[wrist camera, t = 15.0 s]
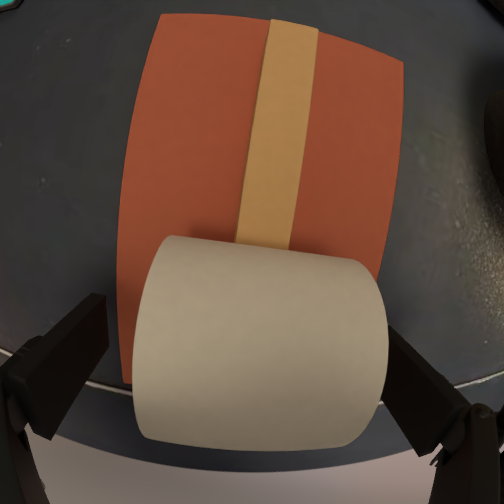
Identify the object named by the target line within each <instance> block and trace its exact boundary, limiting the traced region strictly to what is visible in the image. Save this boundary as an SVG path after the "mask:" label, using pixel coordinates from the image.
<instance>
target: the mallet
mask: <svg viewBox="0 0 504 504" xmlns="http://www.w3.org/2000/svg"><path fill="white" fill-rule="evenodd" d="M318 32H319V30H318V29H316V28H312V27H308V26H304V25H300V24H295V23H291V22H286V21H281V20H275V19H271V20H270V24H269V28H268V32H267V36H266V40H265V46H264V51H263V57H262V62H261V68H260V74H259V80H258V86H257V92H256V98H255V104H254V110H253V116H252V122H251V128H250V134H249V141H248V147H247V153H246V160H245V166H244V173H243V180H242V186H241V193H240V200H239V207H238V214H237V221H236V228H235V235H234V242H233V243H229V242H222V241H214V240H206V239H199V238H191V237H183V236H175V235H170V236H168V237H167V238H166V239H165V240H164V241H163V242H162V244H161V245H160V247H159V249H158V251H157V253H156V255H155V257H154V259H153V262H152V265H151V267H150V270H149V273H148V276H147V279H146V282H145V286H144V290H143V293H142V297H141V301H140V306H139V311H138V317H137V322H136V329H135V337H134V346H133V359H132V392H133V402H134V410H135V415H136V420H137V423H138V426H139V429H140V431H141V433H142V434H143V435H144V437H146V438H148V439H153V440H158V441H164V442H169V443H175V444H182V445H189V446H196V447H205V448H214V449H226V450H243V451H296V450H313V449H325V448H334V447H341V446H345V445H347V444H349V443H351V442H352V441H353V440H355V439H356V438H357V437H358V436H359V435H360V434H361V433H362V432H363V431H364V429H365V428H366V427H367V425H368V423H369V422H370V420H371V419H372V417H373V415H374V412H375V410H376V408H377V406H378V403H379V400H380V397H381V394H382V391H383V387H384V382H385V378H386V372H387V364H388V346H389V340H388V325H387V318H386V312H385V307H384V304H383V300H382V296H381V294H380V291H379V288H378V286H377V284H376V282H375V280H374V278H373V276H372V275H371V273H370V272H369V271H368V269H367V268H366V267H365V266H364V265H362V264H361V263H360V262H358V261H356V260H354V259H348V258H341V257H334V256H326V255H319V254H312V253H304V252H297V251H290V250H288V249H289V243H290V238H291V232H292V226H293V220H294V214H295V208H296V202H297V196H298V189H299V183H300V176H301V170H302V163H303V156H304V149H305V142H306V135H307V128H308V120H309V113H310V105H311V97H312V88H313V80H314V71H315V62H316V52H317V42H318Z"/></svg>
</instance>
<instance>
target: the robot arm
mask: <svg viewBox="0 0 504 504" xmlns="http://www.w3.org/2000/svg"><path fill="white" fill-rule="evenodd" d="M388 340H389V346H388V364H387V372H386V378H385V382H384V387H383V391H382V394H381V397H380V398H381V399H382V401H383V402H384V404H385V405H386V407H387V408H388V410H389V412H390V413H391V415H392V416H393V418H394V419H395V421H396V422H397V424H398V425H399V427H400V428H401V430H402V432H403V433H404V435H405V436H406V438H407V439H408V441H409V442H410V444H411V446H412V447H413V449H414V450H415V452H416V453H417V455H418V456H419V457H421V456H424V455H427V454H429V453H432V452H433V451H434V450H435V448H436V447H437V446H438V444H439V443H441V444H442V446H443V448H442V449H441V450H440V452H439V453H438V454H437V455H436V456H435V458H434V459H433V460H432V461H431V463H430V465H432V464H433V463H434V462H435V461H436V460H438V462H437V464H436V465H435V467H437V468H436V473H435V478H434V483H433V487H432V491H431V496H430V499H429V503H428V504H504V451H503V452H502V453H500V452H499V449H500V448H501V446H502V445H503V444H504V405H503V407H502V408H501V410H500V412H493V410H492V409H491V408H489V407H488V406H487V405H484V404H481V403H476V404H473V405H471V404H470V403H469V402H468V401H467V399H466V398H465V397H464V396H463V395H462V394H461V393H460V392H459V391H458V390H457V389H456V388H454V386H453V385H452V384H451V383H449V381H448V380H447V379H446V378H445V377H444V376H443V375H441V374H440V373H438V372H437V371H436V370H435V369H434V368H433V367H432V366H431V365H430V364H429V363H428V362H427V361H426V360H425V359H424V358H423V357H422V356H421V355H420V354H419V353H418V352H417V351H416V350H415V349H414V348H413V347H412V346H411V345H410V344H408V343H407V342H406V341H405V340H404V339H403V338H402V337H401V336H400V335H399V334H398V333H397V332H396V331H395V330H394V329H393V328H392V327H391V326H390V325H388ZM108 347H109V338H108V326H107V311H106V296H104V295H99V294H94V293H91V294H90V295H89V296H88V297H87V298H85V299H84V300H83V301H82V302H81V303H80V304H78V305H77V306H76V307H75V308H74V309H73V310H72V311H71V312H69V313H68V314H67V315H66V316H65V317H64V318H63V319H62V320H61V321H59V322H58V323H57V324H56V325H55V326H54V327H53V328H52V329H51V330H50V331H49V332H48V333H47V334H45V335H44V336H43V337H42V336H36V337H34V338H32V339H30V340H28V341H27V342H26V343H25V344H24V345H23V346H22V347H21V348H20V349H18V350H17V351H16V354H15V353H14V354H13V355H12V356H11V357H10V358H9V359H8V360H7V361H6V362H5V363H4V364H3V365H2V366H1V367H0V504H50V503H49V501H48V498H47V496H46V494H45V491H44V488H43V486H42V483H41V480H40V477H39V475H38V472H37V469H36V466H35V463H34V459H33V456H32V453H31V449H30V445H29V441H28V437H27V434H26V431H25V429H24V427H25V426H26V424H27V423H29V425H30V427H31V429H32V430H33V432H34V433H35V434H37V435H40V436H42V437H44V438H46V439H48V440H50V441H51V439H52V437H53V436H54V434H55V432H56V431H57V429H58V427H59V425H60V424H61V422H62V420H63V418H64V417H65V415H66V413H67V412H68V410H69V408H70V407H71V405H72V403H73V402H74V400H75V399H76V397H77V395H78V394H79V392H80V390H81V389H82V387H83V386H84V384H85V383H86V381H87V379H88V378H89V376H90V375H91V373H92V372H93V370H94V369H95V367H96V365H97V364H98V362H99V361H100V359H101V358H102V356H103V355H104V353H105V352H106V350H107V349H108Z"/></svg>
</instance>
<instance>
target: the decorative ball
mask: <svg viewBox="0 0 504 504" xmlns="http://www.w3.org/2000/svg"><path fill="white" fill-rule="evenodd" d="M488 1H489V2H490V3H491V4H492V5H493V6H494V7H495V8H496V9H497V10H498V11H500V12H501V13H502V14H503V15H504V0H488Z"/></svg>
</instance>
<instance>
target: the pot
mask: <svg viewBox="0 0 504 504" xmlns="http://www.w3.org/2000/svg"><path fill="white" fill-rule="evenodd" d="M485 138H486V144H487V149H488V155H489V158H490V162H491V166H492V169H493V173H494V175H495V177H496V181H497V184H498V186H499V188H500V191H501V193H502V194H503V196H504V91H501V90H500V91H496V92H495V93H493V94H492V96H491V97H490V98H489V101H488V103H487V105H486V111H485Z"/></svg>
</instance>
